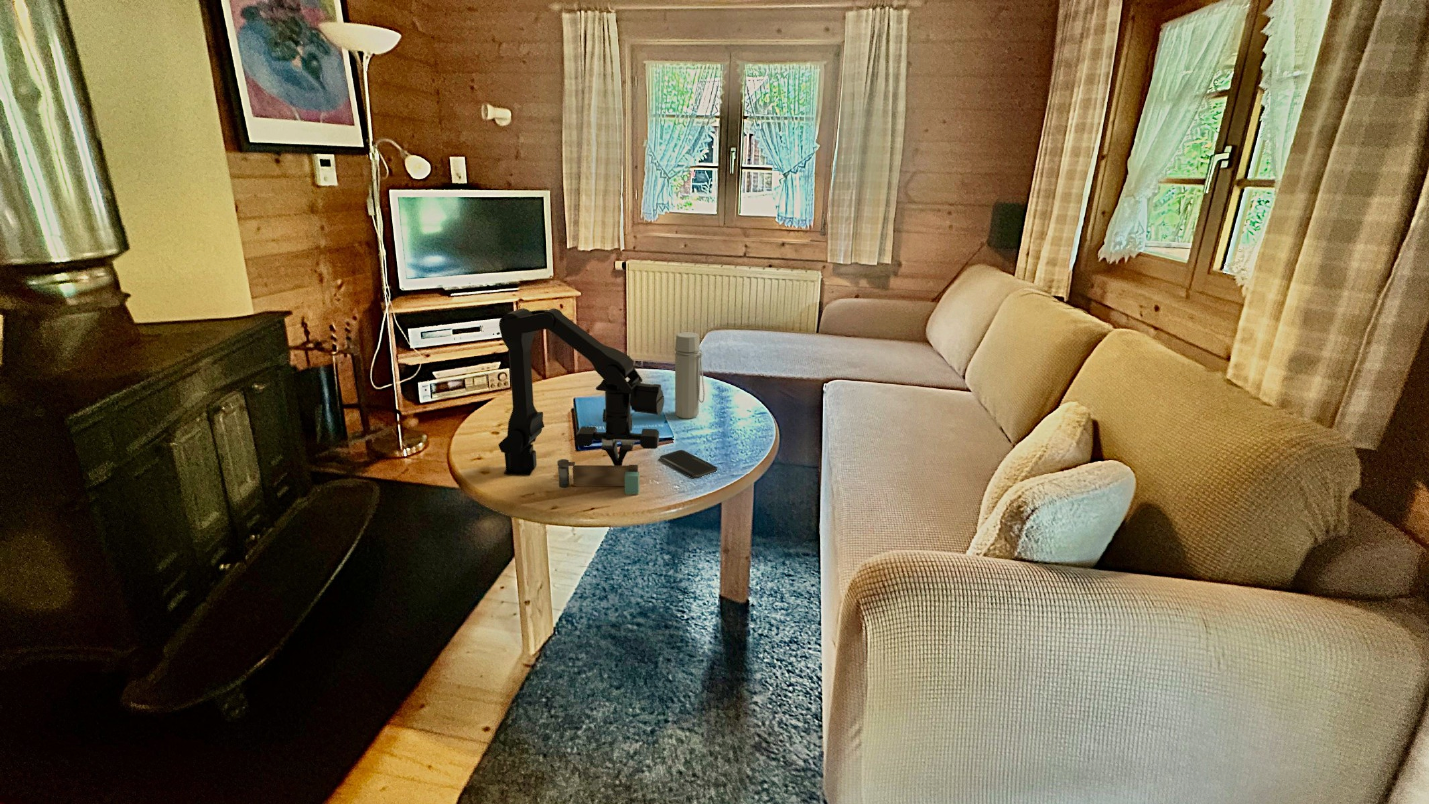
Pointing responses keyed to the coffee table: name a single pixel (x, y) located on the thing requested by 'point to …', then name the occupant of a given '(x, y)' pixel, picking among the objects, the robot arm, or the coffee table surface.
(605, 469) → the gate
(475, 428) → the coffee table surface
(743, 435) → the coffee table surface
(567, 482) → the hinge post
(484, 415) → the coffee table surface
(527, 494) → the coffee table surface
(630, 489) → the block
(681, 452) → the phone
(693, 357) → the water bottle
